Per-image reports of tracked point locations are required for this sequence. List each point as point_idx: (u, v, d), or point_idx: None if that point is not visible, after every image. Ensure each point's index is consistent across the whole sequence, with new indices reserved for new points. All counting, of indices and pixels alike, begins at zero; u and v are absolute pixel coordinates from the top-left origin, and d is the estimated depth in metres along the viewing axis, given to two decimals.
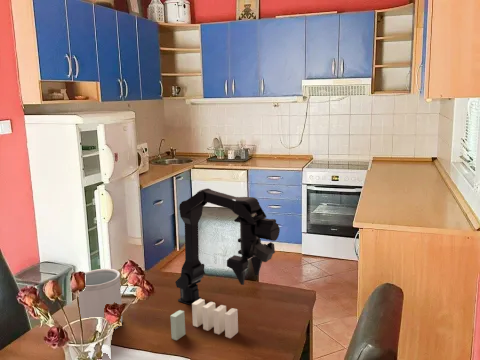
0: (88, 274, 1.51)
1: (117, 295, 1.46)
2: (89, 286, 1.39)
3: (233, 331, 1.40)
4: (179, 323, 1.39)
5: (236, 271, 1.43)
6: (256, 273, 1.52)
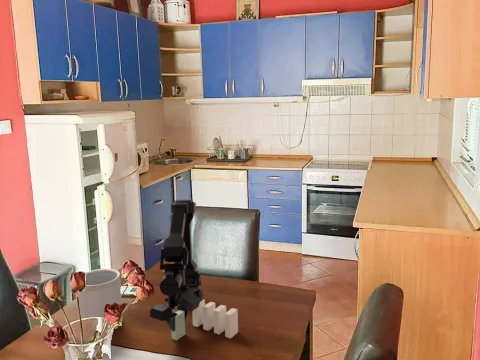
0: (88, 274, 1.51)
1: (117, 295, 1.46)
2: (89, 286, 1.39)
3: (233, 331, 1.40)
4: (179, 323, 1.39)
5: None
6: None
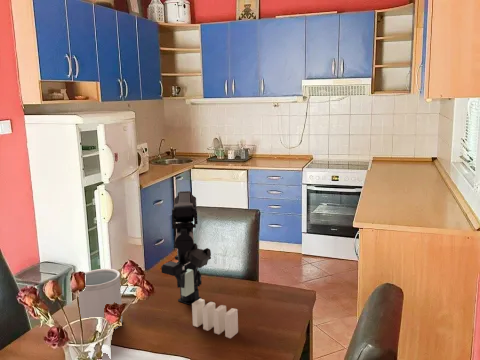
0: (88, 274, 1.51)
1: (117, 295, 1.46)
2: (89, 286, 1.39)
3: (233, 331, 1.40)
4: (188, 280, 1.48)
5: (176, 274, 1.45)
6: None
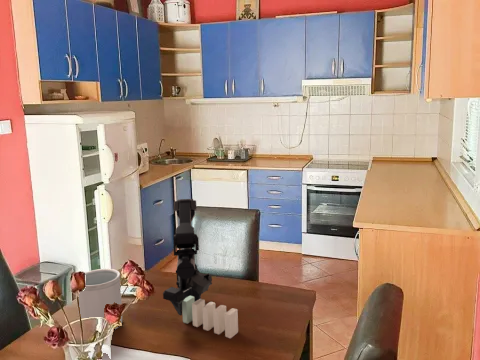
0: (88, 274, 1.51)
1: (117, 295, 1.46)
2: (89, 286, 1.39)
3: (233, 331, 1.40)
4: (190, 307, 1.49)
5: (173, 302, 1.46)
6: None
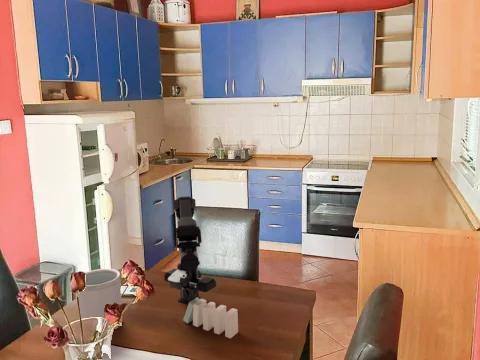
0: (88, 274, 1.51)
1: (117, 295, 1.46)
2: (89, 286, 1.39)
3: (233, 331, 1.40)
4: None
5: None
6: None
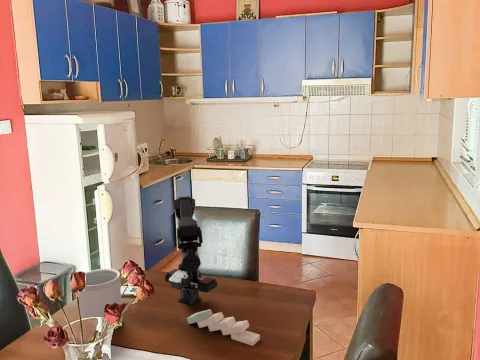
0: (88, 274, 1.51)
1: (117, 295, 1.46)
2: (89, 286, 1.39)
3: None
4: None
5: None
6: None
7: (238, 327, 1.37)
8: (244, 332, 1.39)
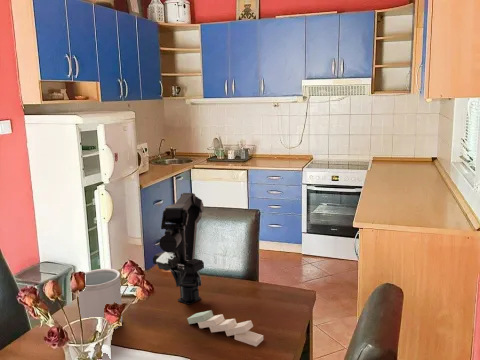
0: (88, 274, 1.51)
1: (117, 295, 1.46)
2: (89, 286, 1.39)
3: None
4: None
5: None
6: None
7: (242, 327, 1.36)
8: (247, 332, 1.39)
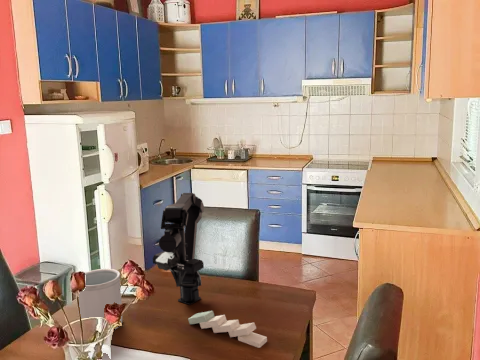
0: (88, 274, 1.51)
1: (117, 295, 1.46)
2: (89, 286, 1.39)
3: None
4: None
5: None
6: None
7: (244, 329, 1.35)
8: (251, 334, 1.38)
